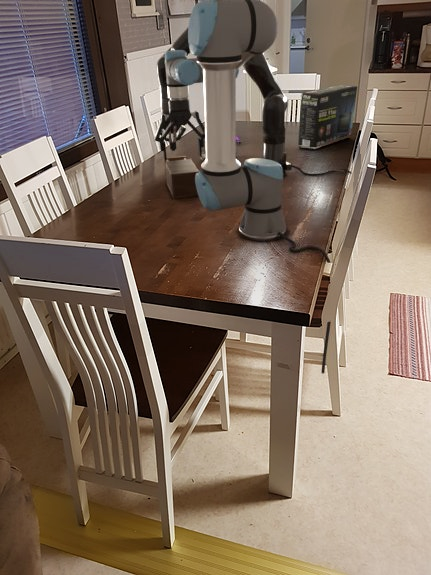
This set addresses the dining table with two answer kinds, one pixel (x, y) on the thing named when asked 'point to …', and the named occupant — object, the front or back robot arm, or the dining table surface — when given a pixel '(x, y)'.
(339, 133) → the router box
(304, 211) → the dining table surface
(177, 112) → the front robot arm
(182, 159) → the drawer
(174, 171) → the taupe rectangular block
